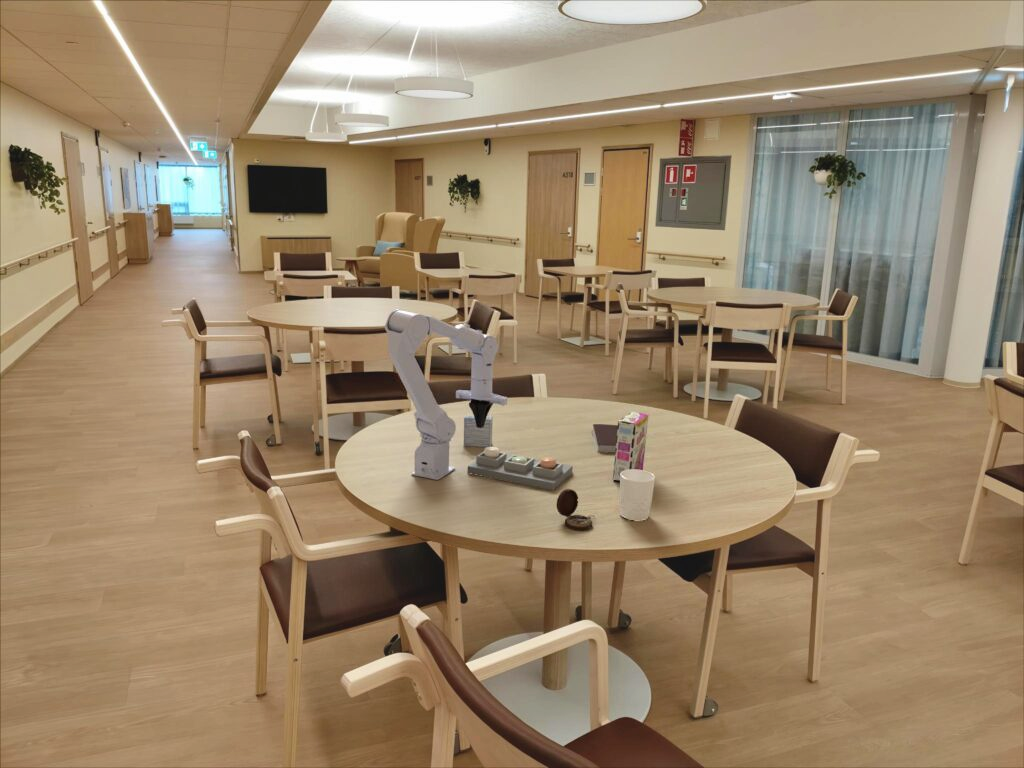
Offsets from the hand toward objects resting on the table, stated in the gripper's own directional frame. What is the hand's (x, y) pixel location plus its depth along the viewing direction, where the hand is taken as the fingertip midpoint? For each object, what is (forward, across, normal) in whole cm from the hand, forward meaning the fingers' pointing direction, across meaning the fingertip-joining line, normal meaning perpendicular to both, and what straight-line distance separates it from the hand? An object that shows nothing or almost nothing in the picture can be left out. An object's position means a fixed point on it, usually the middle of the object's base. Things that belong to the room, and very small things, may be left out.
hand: (480, 426), depth 204 cm
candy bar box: (+10, -40, -8) cm, 42 cm away
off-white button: (+6, -6, +5) cm, 10 cm away
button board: (+9, -14, +4) cm, 17 cm away
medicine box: (+10, +6, -11) cm, 16 cm away
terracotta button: (+6, -22, +5) cm, 23 cm away
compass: (+10, -38, +26) cm, 47 cm away
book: (+10, -29, -34) cm, 46 cm away
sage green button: (+7, -14, +5) cm, 17 cm away
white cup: (+10, -48, +16) cm, 51 cm away
